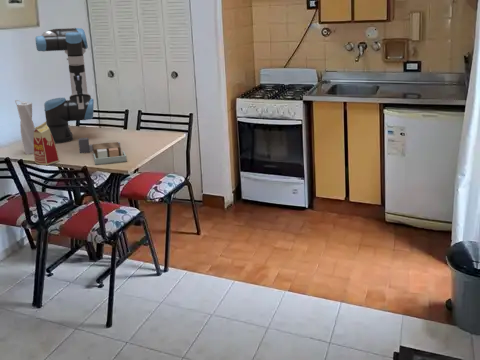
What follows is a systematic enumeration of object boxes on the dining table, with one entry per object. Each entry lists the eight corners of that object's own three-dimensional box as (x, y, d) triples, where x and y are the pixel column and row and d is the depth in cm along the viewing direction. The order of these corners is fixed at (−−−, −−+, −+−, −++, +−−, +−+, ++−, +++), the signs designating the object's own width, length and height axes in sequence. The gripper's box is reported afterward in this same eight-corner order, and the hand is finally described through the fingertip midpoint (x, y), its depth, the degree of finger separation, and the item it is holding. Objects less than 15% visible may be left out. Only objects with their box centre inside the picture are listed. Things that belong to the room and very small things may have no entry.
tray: (95, 164, 271) (94, 158, 270) (93, 159, 280) (93, 153, 279) (126, 161, 276) (126, 155, 275) (124, 156, 285) (123, 150, 284)
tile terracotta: (109, 157, 282) (109, 159, 278) (108, 148, 281) (109, 150, 277) (118, 156, 283) (119, 158, 280) (117, 147, 282) (118, 149, 278)
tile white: (97, 158, 280) (98, 160, 277) (96, 149, 279) (97, 151, 275) (107, 157, 282) (107, 159, 278) (106, 148, 280) (106, 150, 277)
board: (94, 159, 280) (93, 149, 279) (93, 153, 290) (92, 144, 289) (121, 156, 284) (120, 147, 283) (118, 151, 294) (117, 142, 293)
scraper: (80, 153, 291) (78, 140, 289) (79, 151, 295) (78, 138, 293) (120, 149, 297) (119, 136, 295) (120, 147, 301) (119, 135, 299)
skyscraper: (22, 155, 289) (15, 101, 280) (21, 151, 296) (14, 98, 287) (38, 153, 292) (32, 99, 283) (37, 149, 299) (30, 97, 290)
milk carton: (48, 158, 282) (43, 119, 276) (60, 161, 278) (55, 121, 271) (32, 163, 275) (27, 123, 269) (44, 166, 270) (39, 125, 264)
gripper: (67, 61, 291) (72, 101, 298) (69, 68, 269) (74, 111, 276) (82, 60, 293) (86, 100, 300) (85, 67, 271) (89, 110, 278)
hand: (80, 106), depth 288 cm, fingers open, 13 cm apart
